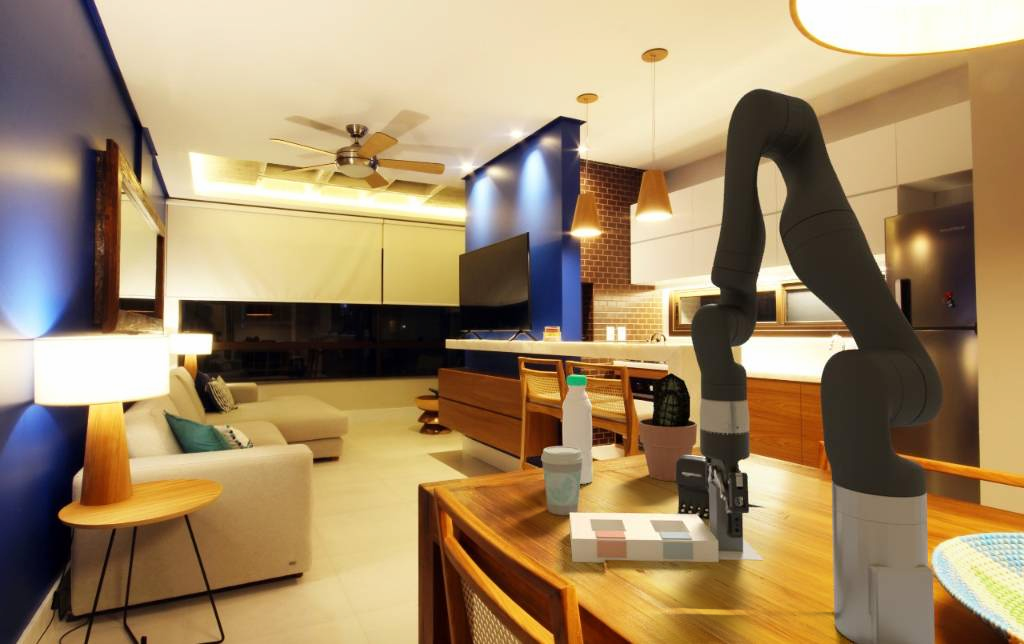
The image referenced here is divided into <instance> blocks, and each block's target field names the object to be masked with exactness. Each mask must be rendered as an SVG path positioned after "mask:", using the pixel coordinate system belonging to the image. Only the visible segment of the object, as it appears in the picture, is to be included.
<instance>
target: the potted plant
mask: <svg viewBox="0 0 1024 644" xmlns="http://www.w3.org/2000/svg"><path fill="white" fill-rule="evenodd" d="M652 400H653V401H652V402H653V405H652V408H653V411H652V417H651V418H650V417H649V418H643V419H640V420H638V432H639V442H640V443H642V445H643V452H644V456H645V460H646V461H645V462H646V465H647V470H648V471H647V472H648V475H649V476H650V477H651V478H652V479H655V480H658V481H663V482H664V481H665V482H676V462H677V460H678V459H679V458H680V457H681V456H683V455H693V448H694V446H695V445H696V444H697V434H698V433H697V431H698V423H696V421H694V420H690V417H691V395H690V393H689V390H688V387H687V385H686V382H685V380H684V379H683V378H681V377H678V376H677V375H675V374H673V373H672V372H671V373H669V374H667V375H664V376H663V377H661V378H659V379H658V380H657V384H656V385H655V389H654V392H653V394H652Z"/></svg>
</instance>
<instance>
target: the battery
mask: <svg viewBox="0 0 1024 644" xmlns="http://www.w3.org/2000/svg"><path fill="white" fill-rule="evenodd" d="M675 484H676V485H677V492H678V504H677V505H678V507H677V512H678V513H677V514H697V515H698V516H699V517H700V519H701V520H702V519H703V520H710V516H709V492H708V488H706V486H705V456H700V455H693V454H691V455H683V456H681V457H680V458H679V459H678V460H677V462H676V481H675Z"/></svg>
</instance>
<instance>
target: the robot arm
mask: <svg viewBox="0 0 1024 644" xmlns="http://www.w3.org/2000/svg"><path fill="white" fill-rule="evenodd" d="M818 119H819V118H818V116H817V114H816V112H815V109H814V108H813V107H812V106H811V104H810V103H809V102H807V101H806V100H805V99H803V98H802V97H798V96H794V95H790V94H788V93H787V94H786V93H784V92H780V91H775V90H772V89H768V88H758V87H757V88H754V89H752V90H749V91H748V92H747V93H745V94H744V95H743V96H742V97H741V98H740V99H739V100H738V101H737V103H736V105H735V106H734V108H733V110H732V113H731V116H730V120H729V124H728V128H727V136H726V149H725V151H726V152H725V163H724V164H725V166H724V179H723V181H724V183H723V184H724V185H723V203H722V213H721V214H722V215H721V224H720V230H719V235H718V240H717V244H716V248H715V249H716V250H715V253H714V257H713V262H712V268H711V273H710V281H711V283H712V284H713V286H715V287H717V288H719V291H720V292H719V293H720V294H719V303H710V304H709V303H708V304H704V305H702V306H701V307H700V308H698V309H697V310H696V312H695V313H694V315H693V317H692V320H691V325H690V336H691V337H690V338H691V343H692V346H693V351H694V354H695V357H696V361H697V365H698V368H699V371H700V406H699V446H700V447H699V448H700V449H699V452H700V454H701V455H702V457H705V486H706V488H708V492H709V481H714V478H715V480H716V481H717V484H718V489H719V493H720V497H721V498H722V499H723V500H724V502H725V507H726V511H727V512H726V523H727V535H728V536H729V537H730V538H741V537H742V536H743V537H744V530H743V529H744V526H743V525H744V524H743V522H744V521H743V519H744V518H742V513H743V514H748V513H749V512H750V507H749V504H750V503H749V501H750V500H749V481H748V480H749V479H748V477H749V476H748V474H747V472H742V471H741V469H740V466H739V462H740V461H742V460H743V461H744V460H747V459H748V458H750V455H751V448H750V447H751V446H750V445H751V443H750V442H751V441H750V411H749V405H748V377H747V370H746V368H745V367H744V365H742V364H741V363H738V362H736V361H735V358H734V354H733V350H732V348H735V347H737V348H738V347H741V346H743V345H744V344H746V343H747V342H748V341H749V340H750V339H751V337H752V336H753V334H754V331H755V329H756V325H757V321H758V319H757V318H758V288H757V287H758V286H757V282H758V279H759V275H760V271H761V266H762V262H763V258H764V255H765V254H764V253H765V249H766V245H767V244H766V243H767V242H766V241H767V235H766V234H767V232H766V231H767V230H766V225H765V219H764V215H763V210H762V207H761V202H760V197H759V190H758V188H759V187H758V173H759V166H760V162H761V157H762V158H766V159H770V160H772V162H774V163H775V165H776V166H777V168H778V169H779V172H780V174H781V177H782V179H783V182H784V185H785V187H786V197H785V201H784V204H783V206H782V210H781V214H780V218H779V227H778V230H779V231H778V232H779V236H780V239H781V242H782V245H783V249H784V251H785V254H786V257H787V259H788V261H789V264H790V267H791V269H792V270H793V273H794V274H795V276H796V277H797V278H798V280H799V281H800V282H801V283H802V284H803V285H804V287H805V288H807V289H808V291H810V292H811V293H812V294H813V295H814V296H815V297H816V298H817V299H818V300H820V301H821V302H822V303H823V304H824V305H825V306H827V308H828V309H829V310H830V311H832V313H834V314H835V315H836V316H837V317H838V318H839V319H840V320H841V322H842V323H843V324H844V325H845V327H846V328H847V330H848V331H849V333H850V335H851V336H852V338H853V340H854V342H855V344H856V347H857V348H852V349H851V348H850V349H849V348H848V349H843V350H840V351H838V352H836V353H834V354H832V355H831V357H829V358H828V360H827V361H826V362H825V364H824V367H823V370H822V373H821V377H820V392H819V393H820V407H821V419H822V431H823V446H824V451H825V455H826V458H827V460H828V463H829V466H830V471H831V472H830V473H831V513H832V514H831V517H832V518H831V520H832V521H831V522H832V523H831V525H832V526H831V527H832V567H833V568H832V572H833V578H832V579H833V581H832V582H833V611H834V612H833V616H834V621H833V622H834V627H836V629H837V630H838V632H839V633H840V634H842V635H843V636H844V637H845V638H847V639H849V640H850V641H852V642H854V643H855V644H935V641H936V640H935V609H934V607H935V604H934V602H935V601H934V600H935V599H934V572H933V570H932V568H931V567H929V548H928V546H929V545H928V500H927V499H928V495H927V494H928V493H927V491H928V489H927V488H928V487H927V474H926V470H925V468H924V467H923V466H922V465H921V464H920V463H918V462H917V461H915V460H911V459H908V458H906V457H903V456H900V455H899V454H897V453H896V451H895V450H894V448H893V442H892V437H891V428H903V427H915V426H921V425H925V424H928V423H930V422H931V421H933V420H934V419H935V418H936V417H937V416H938V415H939V412H940V411H941V409H942V406H943V401H944V387H943V383H942V379H941V377H940V374H939V371H938V370H937V367H936V365H935V363H934V360H933V359H932V357H931V355H930V354H929V352H928V350H927V349H926V348H925V346H924V344H923V342H922V341H921V339H920V338H919V336H918V335H917V333H916V332H915V330H914V329H913V327H912V325H911V324H910V322H909V321H908V319H907V317H906V316H905V313H904V312H903V311H902V309H901V307H900V305H899V304H898V302H897V300H896V298H895V296H894V294H893V293H892V290H891V288H890V287H889V285H888V282H887V280H886V278H885V276H884V274H883V273H882V272H883V271H882V269H881V268H880V265H878V263H877V261H876V259H875V256H874V254H873V252H872V249H871V248H870V247H871V246H870V245H869V242H868V240H867V237H866V233H864V230H863V228H862V226H861V224H860V221H859V219H858V217H857V215H856V213H855V211H854V210H853V208H852V206H851V203H850V202H849V200H848V198H847V196H846V193H845V191H844V189H843V186H842V183H841V182H840V179H839V177H838V174H837V172H836V171H835V168H834V167H833V163H832V161H831V159H830V155H829V152H828V148H827V146H826V143H825V138H824V136H823V132H822V129H821V126H820V122H819V120H818ZM727 491H729V492H727ZM735 499H736V500H737V503H738V505H735ZM749 514H750V513H749Z"/></svg>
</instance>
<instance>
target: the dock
mask: <svg viewBox="0 0 1024 644" xmlns="http://www.w3.org/2000/svg"><path fill="white" fill-rule="evenodd" d="M569 536H570V537H569V539H570V548H571V559H572V563H597V564H598V563H600V564H601V563H603V564H605V563H607V562H606V561H643V562H644V561H646V562H647V561H648V562H649V561H653V562H654V561H655V562H693V563H695V562H697V563H699V562H700V563H704V562H705V563H719V560H720V559H718V540H717V539H716V538H715V536H714V535H713V534H712V533H711V531H710V528H709V527H708V526H707V525H706V524H705V522H704V521H703V520H702V518H700V517H699V516H698V515H697V514H679V513H643V512H642V513H634V512H633V513H628V512H576V513H572V512H570V515H569Z"/></svg>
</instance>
